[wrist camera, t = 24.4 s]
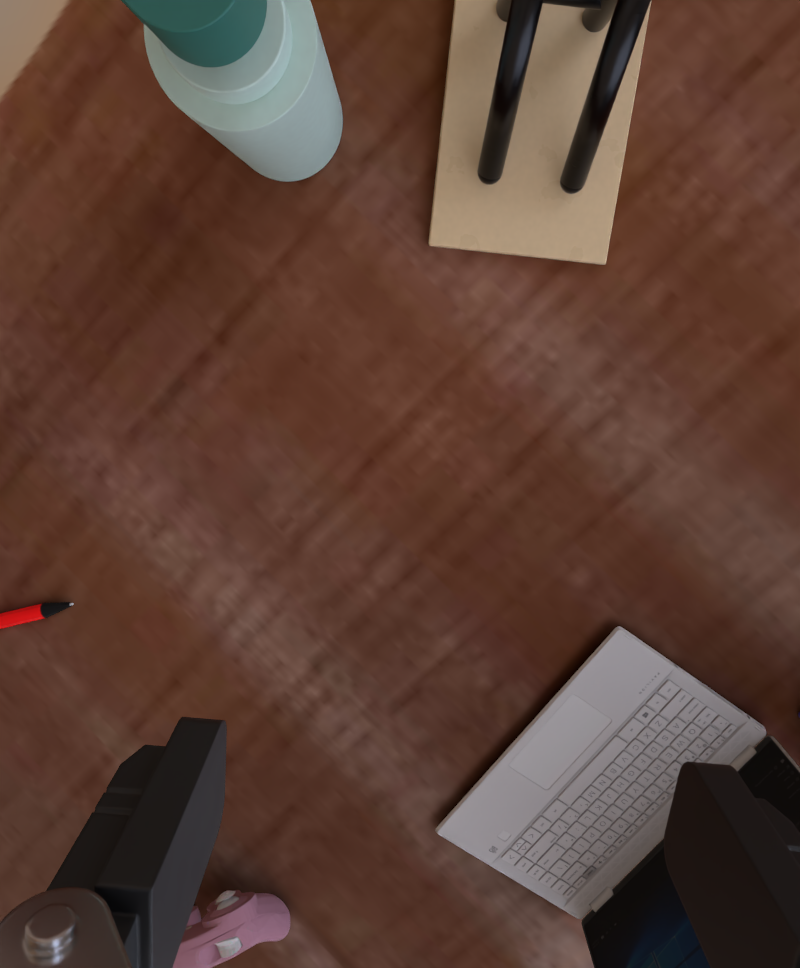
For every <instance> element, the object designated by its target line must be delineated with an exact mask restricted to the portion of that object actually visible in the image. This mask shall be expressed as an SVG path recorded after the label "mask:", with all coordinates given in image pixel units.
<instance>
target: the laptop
mask: <svg viewBox="0 0 800 968" xmlns="http://www.w3.org/2000/svg"><path fill="white" fill-rule="evenodd" d="M766 734H767V733H766V730H765V727H764V726H763V725H761V724H760V723H759V722H757V721H756V720H754V719H753V718H752V717H750V716H749V715H747V714H746V713H745V712H743V711H742V710H740V709H739V708H737V707H736V706H735V705H733V704H732V703H730V702H729V701H727V700H726V699H725V698H723V697H722V696H720V695H719V694H717V693H716V692H715V691H713V690H712V689H710V688H709V687H707V686H706V685H704V684H703V683H702V682H700V681H699V680H697V679H696V678H694V677H693V676H692V675H690V674H689V673H687V672H686V671H684V670H683V669H682V668H680V667H679V666H677V665H676V664H674V663H673V662H671V661H670V660H669V659H667V658H666V657H664V656H663V655H661V654H660V653H658V652H657V651H656V650H654V649H653V648H651V647H650V646H648V645H647V644H645V643H644V642H643V641H641V640H640V639H638V638H637V637H635V636H634V635H632V634H631V633H630V632H628V631H627V630H625V629H624V628H622V627H620V626H618V627H616V628H615V629H614V630H613V631H612V632H611V633H610V635H609V636H608V637H607V638H606V639H605V640H604V641H603V642H602V643H601V645H600V646H599V647H598V648H597V649H596V650H595V651H594V652H593V654H592V655H591V656H590V657H589V658H588V659H587V660H586V661H585V662H584V664H583V665H582V666H581V667H580V668H579V669H578V670H577V671H576V672H575V674H574V675H573V676H572V677H571V678H570V679H569V680H568V681H567V683H566V684H565V685H564V686H563V687H562V688H561V689H560V690H559V691H558V693H557V694H556V695H555V696H554V697H553V698H552V699H551V700H550V701H549V703H548V704H547V705H546V706H545V707H544V708H543V709H542V710H541V712H540V713H539V714H538V715H537V716H536V717H535V718H534V719H533V720H532V722H531V723H530V724H529V725H528V726H527V727H526V728H525V729H524V730H523V732H522V733H521V734H520V735H519V736H518V737H517V738H516V739H515V741H514V742H513V743H512V744H511V745H510V746H509V747H508V748H507V749H506V751H505V752H504V753H503V754H502V755H501V756H500V757H499V758H498V760H497V761H496V762H495V763H494V764H493V765H492V766H491V767H490V768H489V770H488V771H487V772H486V773H485V774H484V775H483V776H482V777H481V778H480V780H479V781H478V782H477V783H476V784H475V785H474V786H473V787H472V789H471V790H470V791H469V792H468V793H467V794H466V795H465V796H464V797H463V799H462V800H461V801H460V802H459V803H458V804H457V805H456V806H455V808H454V809H453V810H452V811H451V812H450V813H449V814H448V815H447V816H446V818H445V819H444V820H443V821H442V822H441V823H440V824H439V825H438V827H437V828H436V829H435V831H436V832H437V833H438V834H439V835H440V836H442V837H443V838H445V839H447V840H448V841H450V842H452V843H453V844H455V845H457V846H458V847H460V848H461V849H463V850H465V851H466V852H468V853H470V854H471V855H473V856H475V857H476V858H478V859H480V860H481V861H483V862H485V863H486V864H488V865H490V866H491V867H493V868H495V869H496V870H498V871H500V872H501V873H503V874H505V875H506V876H508V877H510V878H511V879H513V880H514V881H516V882H518V883H519V884H521V885H523V886H524V887H526V888H528V889H529V890H531V891H533V892H534V893H536V894H538V895H539V896H541V897H543V898H544V899H546V900H548V901H549V902H551V903H553V904H554V905H556V906H558V907H559V908H561V909H563V910H564V911H566V912H568V913H569V914H571V915H572V916H574V917H576V918H578V919H582V918H583V917H584V916H585V915H586V914H587V913H588V912H589V911H590V910H591V909H592V910H591V911H590V912H589V913H588V914H587V915H586V916H585V917H584V918H583V920H582V927H583V931H584V934H585V937H586V941H587V944H588V948H589V951H590V954H591V958H592V961H593V965H594V968H710V965H709V963H708V961H707V959H706V956H705V954H704V952H703V950H702V947H701V945H700V943H699V941H698V938H697V936H696V934H695V931H694V929H693V927H692V925H691V922H690V920H689V918H688V916H687V913H686V911H685V909H684V907H683V904H682V902H681V900H680V897H679V895H678V893H677V891H676V888H675V886H674V884H673V882H672V879H671V877H670V875H669V872H668V869H667V866H666V861H665V855H664V839H663V838H664V834H665V829H666V825H667V821H668V816H669V812H670V808H671V804H672V800H673V796H674V792H675V788H676V783H677V779H678V775H679V772H680V769H681V766H682V765H683V764H684V763H685V762H687V761H689V762H701V763H712V764H724V765H731V766H732V767H734V768H735V769H736V771H737V772H738V774H739V775H740V776H741V778H742V779H743V781H744V782H745V784H746V785H747V787H748V788H749V790H750V791H751V793H752V794H753V796H754V797H755V798H762V799H765V800H767V801H768V802H769V803H770V804H771V805H772V806H774V807H775V808H776V809H777V810H778V811H780V812H781V813H782V814H783V815H784V816H786V817H787V818H788V819H789V820H790V821H791V822H793V824H794V825H795V827H796V828H797V830H798V831H799V832H800V768H799V766H798V765H797V764H796V763H795V762H794V760H793V759H792V758H791V757H790V756H789V754H788V753H787V752H786V751H785V750H784V748H783V747H782V746H781V745H780V744H779V743H778V741H777V740H776V739H775V738H774V737H773V736H767V737H765V736H766ZM764 737H765V738H764ZM763 738H764V739H763ZM762 739H763V740H762ZM761 740H762V741H761ZM760 741H761V742H760ZM759 742H760V743H759ZM758 743H759V744H758ZM757 744H758V745H757ZM756 745H757V746H756ZM755 746H756V747H755ZM754 747H755V748H754ZM662 839H663V840H662ZM661 840H662V841H661ZM660 841H661V842H660ZM659 842H660V843H659ZM658 843H659V844H658ZM657 844H658V845H657ZM656 845H657V846H656ZM655 846H656V847H655ZM654 847H655V848H654ZM653 848H654V849H653ZM652 849H653V850H652ZM651 850H652V851H651ZM650 851H651V852H650ZM649 852H650V853H649ZM648 853H649V854H648ZM647 854H648V855H647ZM646 855H647V856H646ZM645 856H646V857H645ZM644 857H645V858H644ZM643 858H644V859H643ZM642 859H643V860H642ZM641 860H642V861H641ZM640 861H641V862H640ZM638 862H640V863H639V864H638V865H637V866H636V867H635V868H634V869H633V870H632V871H631V872H630V873H628V872H629V871H630V870H631V869H632V868H633V867H634V866H635V865H636V864H637V863H638ZM627 873H628V874H627ZM626 874H627V875H626ZM625 875H626V876H625ZM624 876H625V877H624ZM623 877H624V878H623ZM622 878H623V879H622ZM621 879H622V880H621ZM620 880H621V881H620ZM619 881H620V882H619ZM618 882H619V883H618ZM617 883H618V884H617ZM616 884H617V885H616ZM615 885H616V886H615ZM614 886H615V887H614ZM613 887H614V888H613ZM612 888H613V889H612Z"/></svg>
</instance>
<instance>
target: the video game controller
mask: <svg viewBox="0 0 800 968" xmlns="http://www.w3.org/2000/svg"><path fill="white" fill-rule="evenodd" d="M207 911H208V913H207V914H206V915H205V916H204V917H203V918H202V919H201V915H200V912H199V909H198V906H193V908H192V911H191V914H190V917H189V920H188V923H187V926H186V929H185V932H184V935H183V938H182V941H181V944H180V947H179V950H178V953H177V956H176V958H175V961H174V964H173V967H172V968H212V967H214V966H216V965H218V964H220V963H222V962H224V961H227V960H229V959H231V958H233V957H235V956H237V955H238V954H240V953H242V952H244V951H245V950H247V949H249V948H251V947H252V946H254V945H255V944H257V943H260V942H265V941H279V940H282V939H283V938H284V937H285V936H286V935H287V934H288V931H289V928H290V914H289V913H290V912H289V910H288V908H287V907H286V905H285V904H284V902H283V901H282V900H281V899H279V898H278V897H276V896H275V895H273V894H269V893H255V892H247V893H241V891H240V890H235V891H232V890H230V891H229V890H228V891H225V892H223V893H222V894H220V896H219V897H218V898H217V899H216V900H214V901H213V902H212V903H210V904H209V905H208V906H207Z"/></svg>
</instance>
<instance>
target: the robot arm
mask: <svg viewBox="0 0 800 968" xmlns="http://www.w3.org/2000/svg"><path fill="white" fill-rule="evenodd" d="M225 769H226V722H225V721H224V720H214V719H202V718H190V717H182V718H181V719H180V720H179V722H178V723H177V725H176V727H175V729H174V731H173V733H172V735H171V737H170V739H169V741H168V743H167V745H166V747H165V746H153V745H144V746H143V747H142V748H141V749H139V750H138V751H137V752H135V753H134V754H133V755H132V756H130V757H129V758H128V759H127V760H125V761H124V762H123V763H122V764H121V765H120V766H119V768H118V770H117V772H116V773H115V775H114V777H113V778H112V780H111V782H110V784H109V785H108V787H107V791H106V793H104V794H103V795H102V797H101V799H100V801H99V802H98V804H97V806H96V807H95V812H94V813H92V814H91V816H90V818H89V819H88V821H87V823H86V824H85V826H84V828H83V829H82V831H81V833H80V835H79V836H78V838H77V840H76V841H75V843H74V845H73V847H72V848H71V850H70V852H69V853H68V855H67V857H66V858H65V860H64V862H63V864H62V865H61V867H60V869H59V870H58V872H57V874H56V875H55V877H54V879H53V881H52V882H51V884H50V886H49V887H48V889H47V890H46V891H45V892H43V893H40V894H38V895H35V896H33V897H31V898H29V899H28V900H26V901H24V902H23V903H21V904H20V905H18V906H17V907H16V908H14V909H13V910H12V911H11V912H10V913H9V914H8V915H7V916H6V917H5V918H4V919H3V920H2V921H1V922H0V968H172V967H173V964H174V961H175V958H176V956H177V953H178V950H179V947H180V944H181V941H182V938H183V935H184V932H185V929H186V926H187V923H188V920H189V917H190V914H191V911H192V908H193V905H194V902H195V900H196V897H197V894H198V891H199V888H200V885H201V882H202V879H203V876H204V873H205V870H206V867H207V864H208V861H209V858H210V855H211V852H212V849H213V846H214V844H215V841H216V838H217V835H218V831H219V828H220V823H221V819H222V813H223V807H224V798H225ZM664 855H665V861H666V866H667V869H668V872H669V875H670V877H671V879H672V882H673V884H674V886H675V888H676V891H677V893H678V895H679V897H680V900H681V902H682V904H683V907H684V909H685V911H686V913H687V916H688V918H689V920H690V922H691V925H692V927H693V929H694V931H695V934H696V936H697V938H698V941H699V943H700V945H701V947H702V950H703V952H704V954H705V956H706V959H707V961H708V963H709V965H710V968H800V832H799V831H798V830H797V828H796V827H795V825H794V824H793V822H791V821H790V820H789V819H788V818H787V817H786V816H784V815H783V814H782V813H781V812H780V811H778V810H777V809H776V808H775V807H774V806H772V805H771V804H770V803H769V802H768V801H767V800H765V799H762V798H755V797H754V796H753V794H752V793H751V791H750V790H749V788H748V787H747V785H746V784H745V782H744V781H743V779H742V778H741V776H740V775H739V774H738V772H737V771H736V769H735V768H734V767H732V766H731V765H724V764H712V763H701V762H689V761H687V762H685V763H684V764H683V765H682V766H681V769H680V772H679V775H678V779H677V783H676V788H675V792H674V796H673V800H672V804H671V808H670V812H669V816H668V821H667V825H666V829H665V834H664Z"/></svg>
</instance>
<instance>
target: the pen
mask: <svg viewBox="0 0 800 968" xmlns="http://www.w3.org/2000/svg"><path fill="white" fill-rule="evenodd" d="M71 605H73V603H70V602H62V603H42V604H38V605H33V606H29V607H25V608H21V609H17V610H13V611H8V612H4V613H0V629H2V628H6V627H10V626H14V625H19V624H23V623H27V622H31V621H35V620H40V619H44V618H47V617H49V616H51V615H54V614H56V613H58V612H60V611H62V610H64V609H66V608H68V607H71Z"/></svg>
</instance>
